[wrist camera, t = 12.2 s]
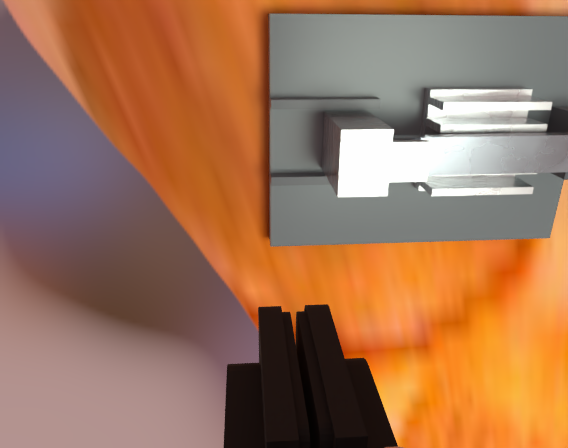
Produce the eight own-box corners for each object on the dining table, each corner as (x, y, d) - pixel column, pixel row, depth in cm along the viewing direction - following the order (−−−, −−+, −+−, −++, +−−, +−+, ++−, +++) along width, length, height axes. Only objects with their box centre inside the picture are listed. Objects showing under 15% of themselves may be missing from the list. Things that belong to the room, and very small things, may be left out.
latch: (402, 110, 33) (435, 128, 27) (396, 167, 34) (426, 195, 29) (324, 111, 32) (341, 129, 27) (321, 169, 34) (337, 197, 28)
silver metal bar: (609, 124, 31) (628, 129, 30) (596, 171, 32) (614, 179, 31) (387, 127, 30) (395, 132, 28) (382, 177, 31) (390, 185, 29)
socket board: (591, 17, 33) (641, 16, 29) (541, 230, 39) (576, 254, 35) (268, 13, 31) (272, 12, 27) (269, 238, 37) (273, 265, 33)
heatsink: (524, 87, 33) (554, 94, 30) (505, 184, 36) (531, 200, 33) (425, 87, 32) (445, 95, 29) (413, 186, 35) (430, 202, 32)
